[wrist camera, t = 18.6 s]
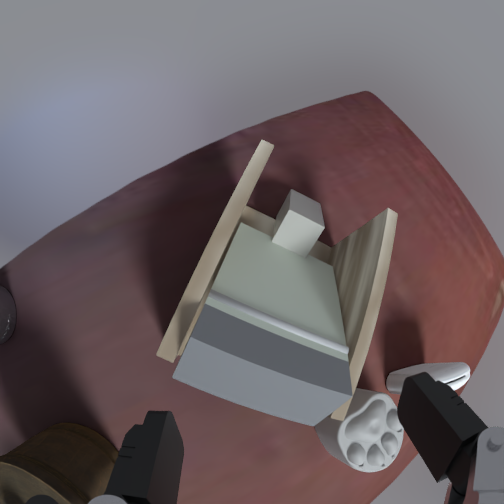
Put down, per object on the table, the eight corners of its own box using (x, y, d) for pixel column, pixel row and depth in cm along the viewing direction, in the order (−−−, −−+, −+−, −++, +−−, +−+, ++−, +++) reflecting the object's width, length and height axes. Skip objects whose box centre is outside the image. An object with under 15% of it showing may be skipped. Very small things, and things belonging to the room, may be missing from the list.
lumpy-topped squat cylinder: (358, 379, 41) (392, 383, 33) (387, 434, 39) (420, 444, 31) (306, 418, 37) (334, 433, 29) (340, 472, 35) (369, 491, 27)
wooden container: (23, 441, 26) (-59, 484, 5) (85, 406, 31) (3, 454, 11) (83, 514, 24) (41, 592, 4) (150, 486, 29) (134, 583, 9)
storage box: (167, 349, 36) (156, 355, 22) (235, 204, 45) (261, 139, 30) (286, 396, 38) (343, 421, 23) (336, 253, 46) (397, 213, 31)
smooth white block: (289, 209, 36) (291, 188, 43) (271, 241, 38) (276, 215, 46) (324, 227, 36) (320, 203, 44) (305, 258, 38) (304, 229, 46)
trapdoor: (172, 377, 23) (191, 334, 20) (224, 257, 42) (241, 220, 39) (313, 426, 24) (355, 394, 21) (311, 297, 43) (333, 264, 40)
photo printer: (425, 361, 44) (476, 358, 33) (425, 383, 43) (475, 384, 32) (384, 371, 42) (437, 372, 31) (384, 395, 41) (437, 402, 29)
